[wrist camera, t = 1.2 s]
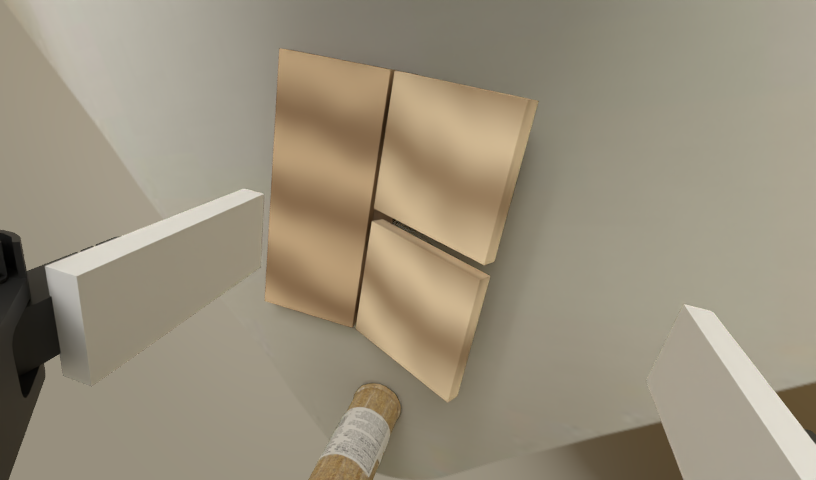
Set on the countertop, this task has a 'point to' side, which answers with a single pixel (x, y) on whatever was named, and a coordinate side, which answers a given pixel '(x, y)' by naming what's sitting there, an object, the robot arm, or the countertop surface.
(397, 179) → the plank
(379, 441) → the sprinkles bottle
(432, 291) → the plank
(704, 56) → the countertop surface
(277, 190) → the laid board
